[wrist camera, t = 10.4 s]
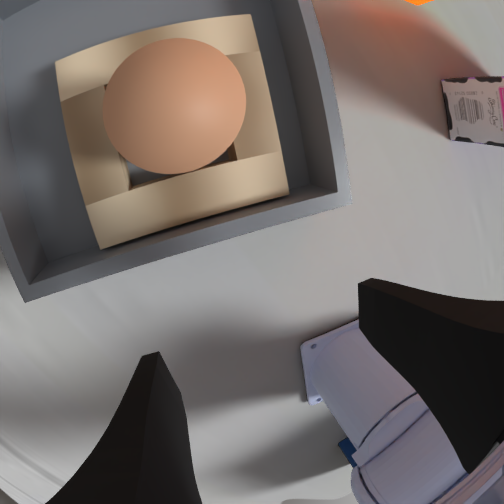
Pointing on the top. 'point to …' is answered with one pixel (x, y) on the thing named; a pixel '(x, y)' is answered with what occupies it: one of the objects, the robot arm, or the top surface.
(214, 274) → the top surface
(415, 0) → the orange juice
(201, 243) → the tray
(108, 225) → the plate
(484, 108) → the candy box
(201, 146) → the peg
